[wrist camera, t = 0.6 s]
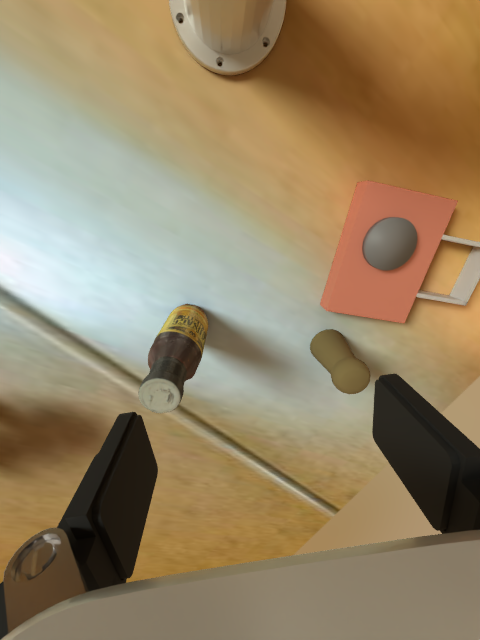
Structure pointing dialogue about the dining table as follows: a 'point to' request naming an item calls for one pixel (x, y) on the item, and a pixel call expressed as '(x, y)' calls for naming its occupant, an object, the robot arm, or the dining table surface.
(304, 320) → the dining table surface
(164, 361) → the sauce bottle
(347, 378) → the cork
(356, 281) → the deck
